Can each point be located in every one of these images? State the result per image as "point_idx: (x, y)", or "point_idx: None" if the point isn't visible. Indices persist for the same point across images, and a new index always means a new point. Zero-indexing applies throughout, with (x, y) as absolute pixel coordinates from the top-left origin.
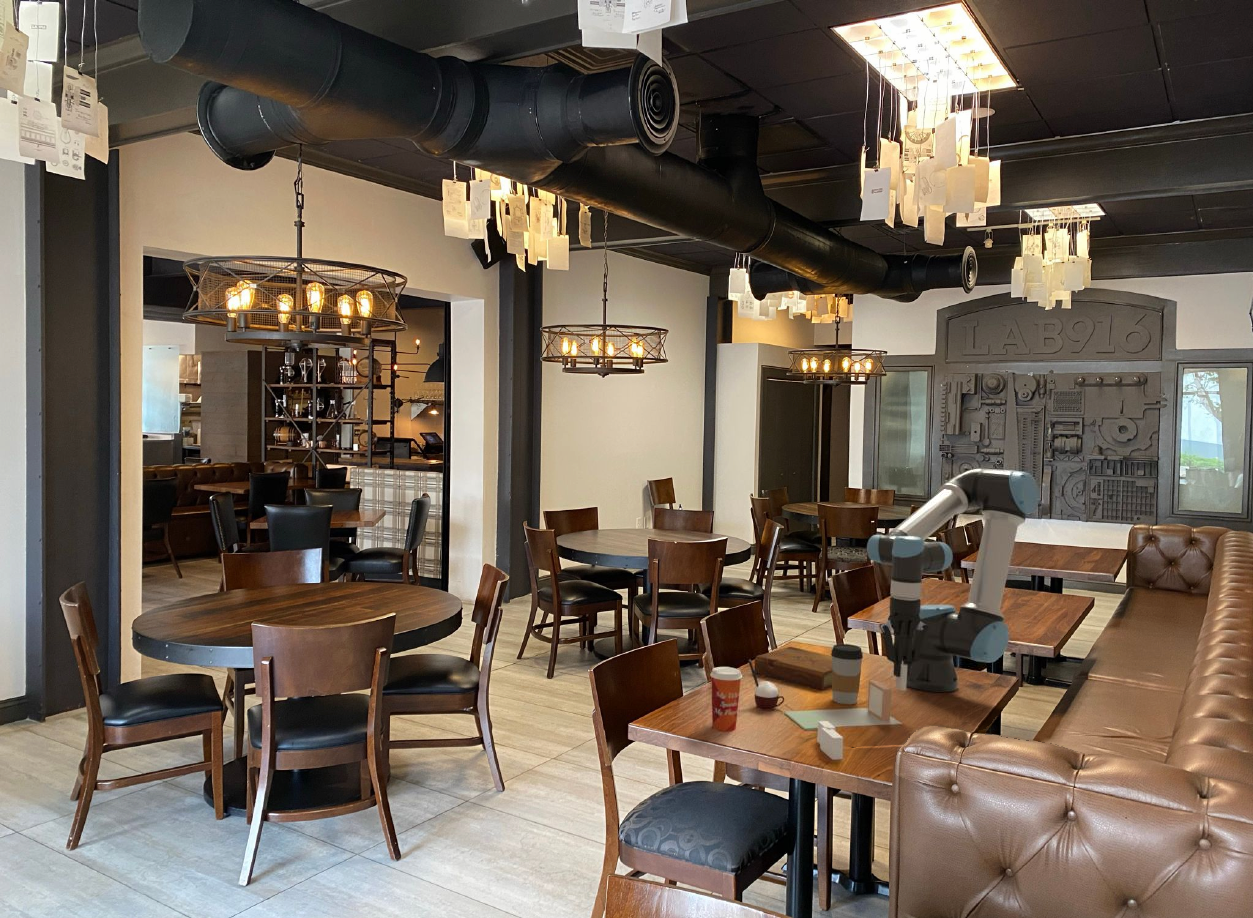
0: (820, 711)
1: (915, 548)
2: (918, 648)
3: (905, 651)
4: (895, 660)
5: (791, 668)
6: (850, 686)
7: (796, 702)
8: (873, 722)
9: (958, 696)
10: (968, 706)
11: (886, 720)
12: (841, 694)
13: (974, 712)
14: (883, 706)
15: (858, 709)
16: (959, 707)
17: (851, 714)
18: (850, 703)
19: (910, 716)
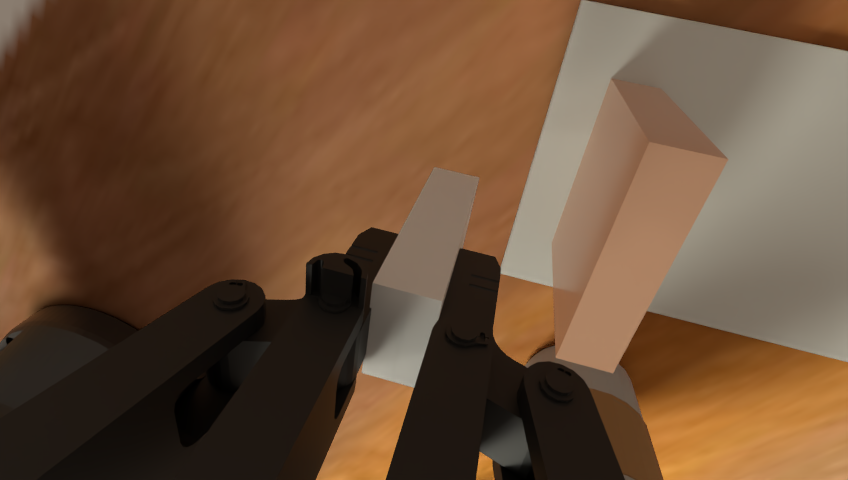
0: (845, 340)
1: None
2: (76, 408)
3: (306, 454)
4: (528, 375)
5: None
6: (611, 420)
7: (777, 463)
8: (745, 86)
9: (55, 259)
10: (55, 148)
11: (635, 84)
12: (636, 406)
13: (55, 66)
14: (684, 114)
15: None
16: (99, 152)
17: (729, 246)
18: None
19: (406, 129)
